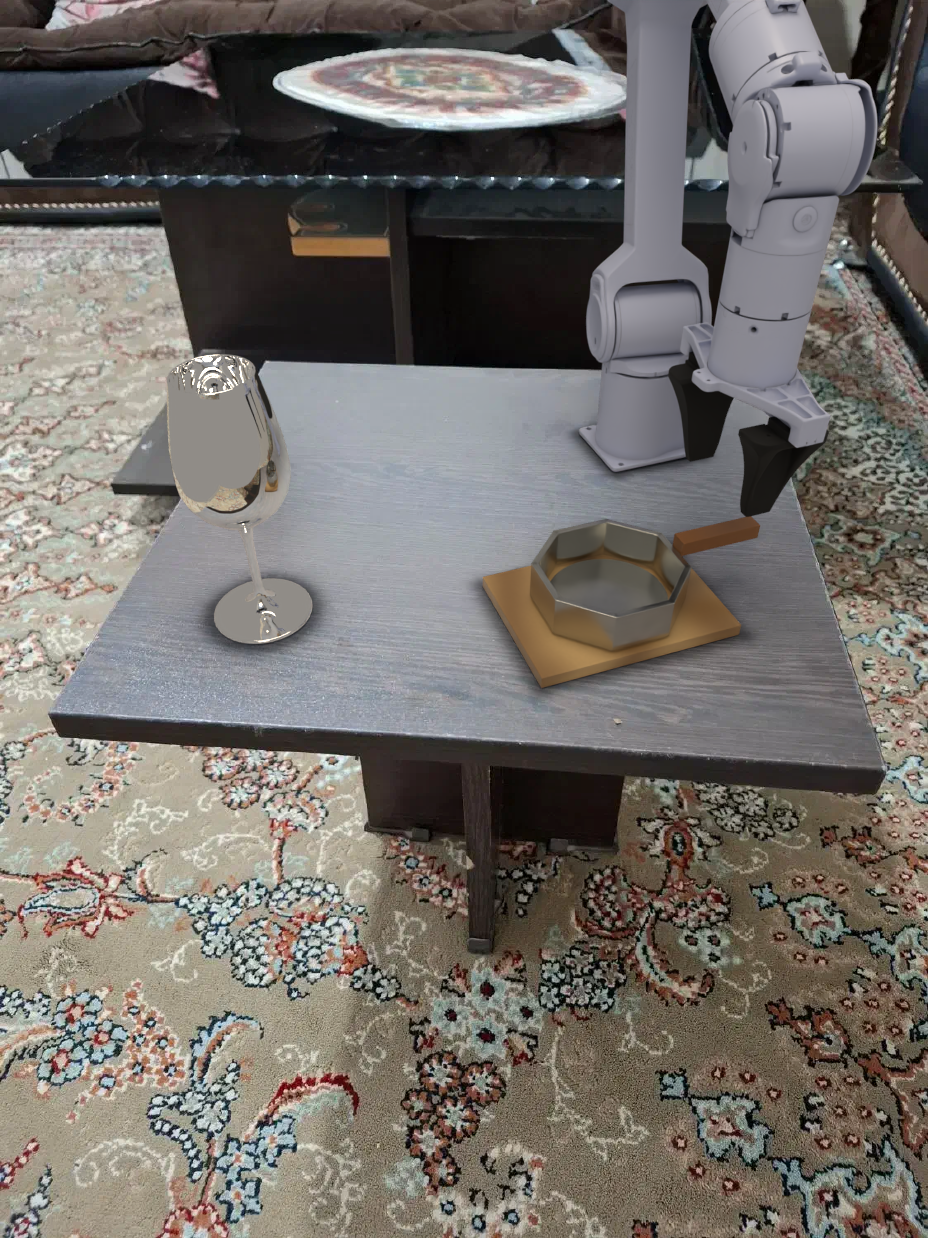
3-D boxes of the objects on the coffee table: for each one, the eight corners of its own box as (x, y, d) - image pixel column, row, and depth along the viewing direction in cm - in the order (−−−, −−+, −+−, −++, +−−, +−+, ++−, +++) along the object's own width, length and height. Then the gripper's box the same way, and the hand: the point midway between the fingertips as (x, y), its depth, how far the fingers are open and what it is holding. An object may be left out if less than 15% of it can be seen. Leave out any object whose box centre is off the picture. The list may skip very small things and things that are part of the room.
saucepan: (708, 527, 75) (717, 483, 72) (784, 607, 67) (798, 561, 64) (514, 573, 71) (515, 528, 68) (571, 664, 63) (575, 617, 60)
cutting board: (661, 543, 75) (662, 534, 75) (739, 634, 67) (741, 624, 66) (482, 586, 71) (482, 576, 71) (541, 688, 63) (541, 678, 62)
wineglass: (199, 600, 71) (133, 363, 57) (292, 568, 73) (249, 336, 60) (231, 660, 66) (166, 415, 52) (330, 623, 68) (292, 383, 55)
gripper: (653, 270, 61) (631, 444, 70) (777, 361, 51) (732, 551, 60) (743, 256, 62) (710, 428, 72) (880, 341, 52) (822, 529, 61)
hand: (726, 483), depth 66 cm, fingers open, 7 cm apart
